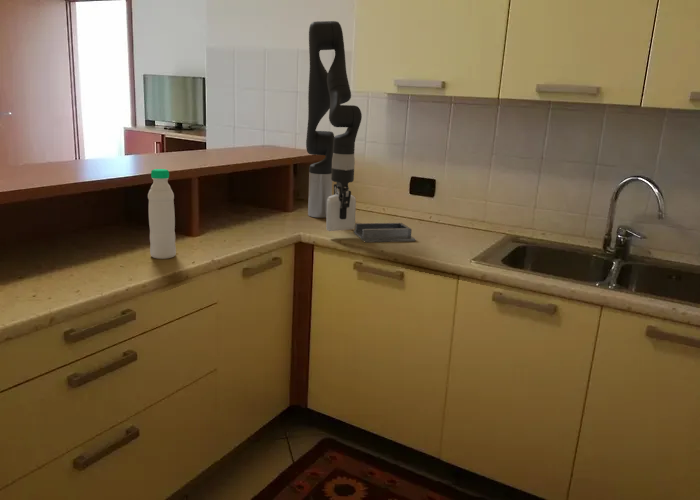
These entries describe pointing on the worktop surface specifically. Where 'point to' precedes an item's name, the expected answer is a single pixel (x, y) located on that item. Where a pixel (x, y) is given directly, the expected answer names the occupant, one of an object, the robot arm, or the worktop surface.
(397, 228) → the bracket
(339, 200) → the robot arm
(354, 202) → the photo printer
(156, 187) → the water bottle
